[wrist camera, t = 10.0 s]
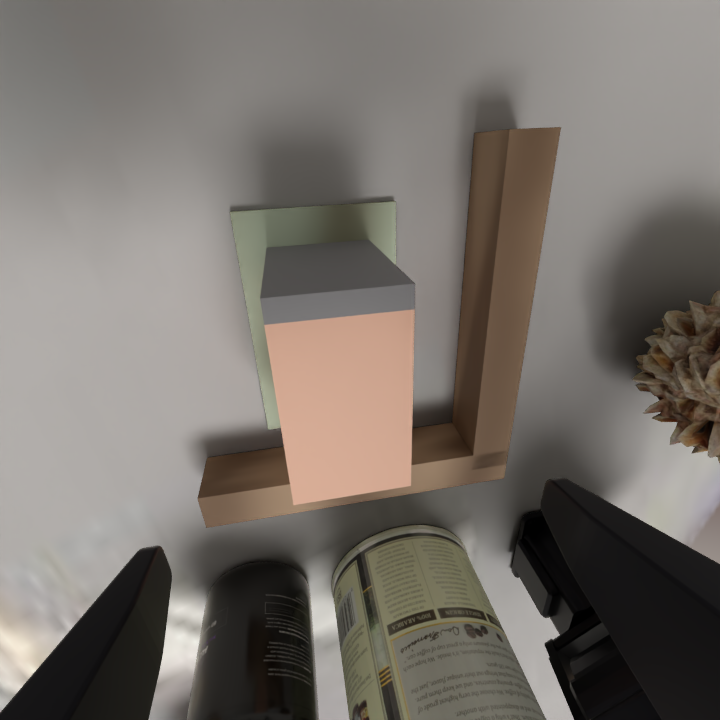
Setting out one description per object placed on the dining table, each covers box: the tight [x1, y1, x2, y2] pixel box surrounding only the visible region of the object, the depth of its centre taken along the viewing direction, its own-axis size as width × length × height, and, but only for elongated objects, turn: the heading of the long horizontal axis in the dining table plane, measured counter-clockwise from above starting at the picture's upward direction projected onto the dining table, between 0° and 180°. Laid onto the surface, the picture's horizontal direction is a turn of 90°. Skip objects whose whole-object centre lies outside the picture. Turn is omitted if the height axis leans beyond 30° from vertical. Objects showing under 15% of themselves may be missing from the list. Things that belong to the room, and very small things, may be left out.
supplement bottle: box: [187, 562, 319, 720], centre depth 23 cm, size 7×7×12 cm
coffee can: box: [332, 525, 546, 720], centre depth 24 cm, size 10×10×14 cm
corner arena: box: [198, 127, 561, 528], centre depth 19 cm, size 16×17×3 cm
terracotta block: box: [260, 240, 415, 505], centre depth 17 cm, size 8×4×7 cm, turn 2°
